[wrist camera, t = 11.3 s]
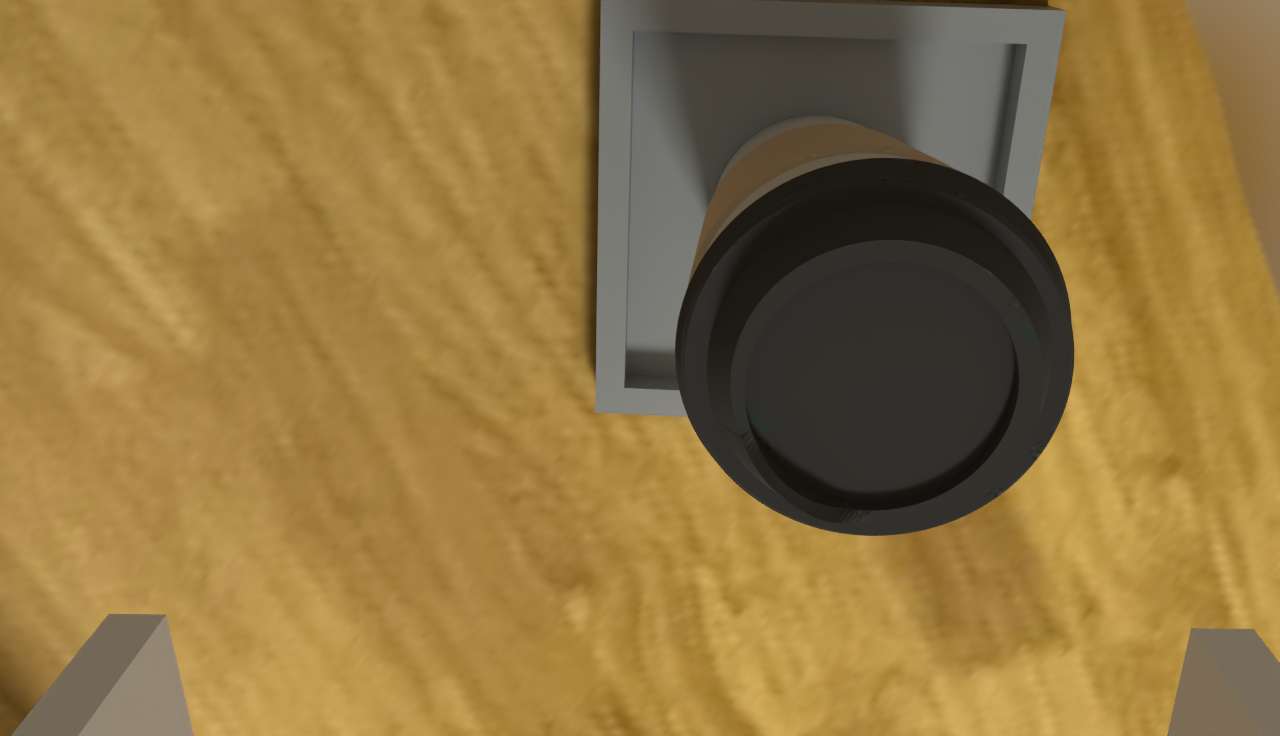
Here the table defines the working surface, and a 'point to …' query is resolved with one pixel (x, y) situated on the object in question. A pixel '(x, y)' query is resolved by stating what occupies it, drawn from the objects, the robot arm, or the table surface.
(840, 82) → the tray
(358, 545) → the table surface
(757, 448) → the coffee cup
